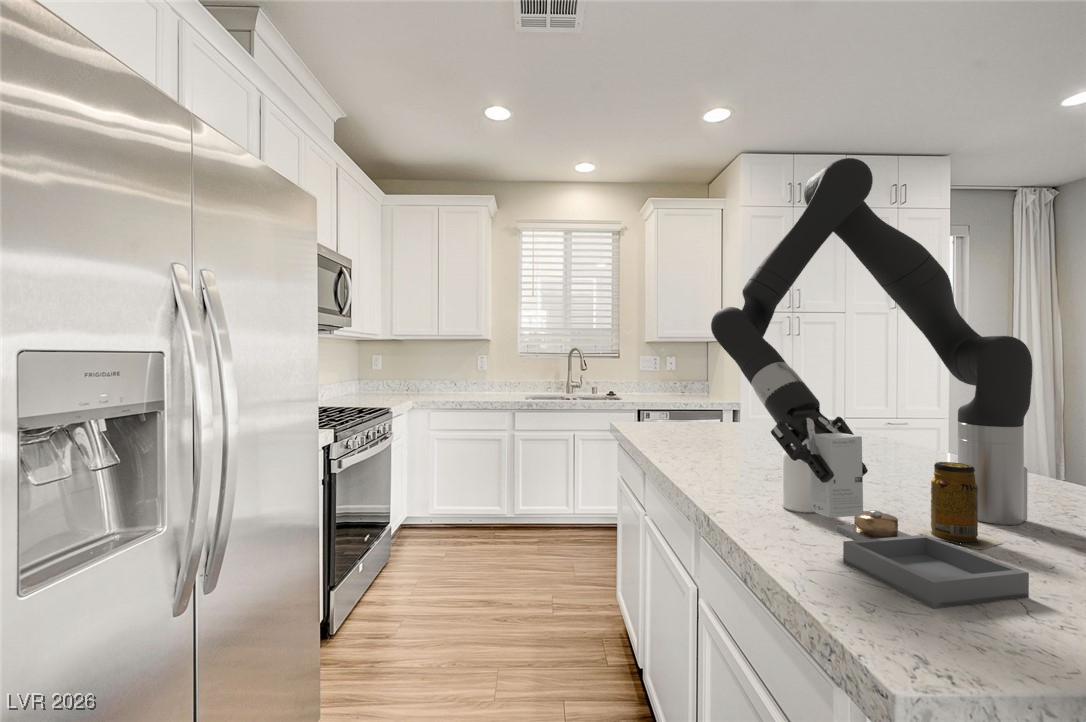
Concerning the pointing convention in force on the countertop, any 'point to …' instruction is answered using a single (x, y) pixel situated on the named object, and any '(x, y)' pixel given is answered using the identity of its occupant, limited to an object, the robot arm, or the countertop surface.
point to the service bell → (872, 526)
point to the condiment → (956, 506)
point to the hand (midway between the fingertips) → (845, 477)
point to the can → (796, 484)
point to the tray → (936, 571)
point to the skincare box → (839, 476)
